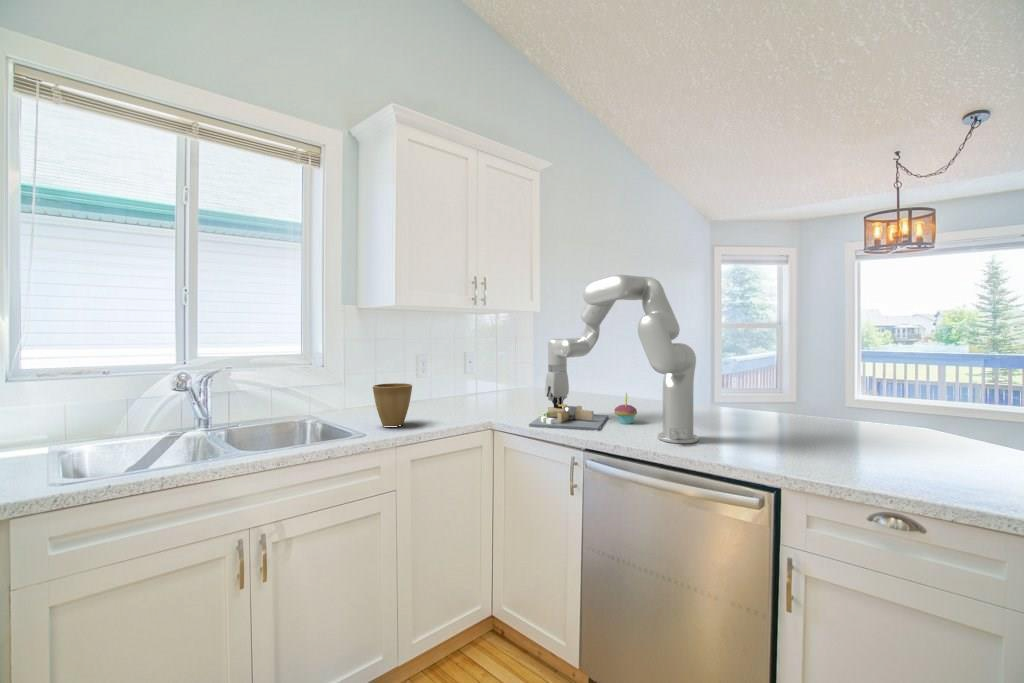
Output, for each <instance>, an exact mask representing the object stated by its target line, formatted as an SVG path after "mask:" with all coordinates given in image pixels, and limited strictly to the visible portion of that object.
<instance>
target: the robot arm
mask: <svg viewBox="0 0 1024 683" xmlns="http://www.w3.org/2000/svg"><path fill="white" fill-rule="evenodd" d="M582 297H583V300H584V302H585V303H586V305H585V306H584V307H583V309H582V311H581V312H580V319H581V320H582V321H583V323H585V324H586V325H585V329H584V330H583V331H582V334H581V335H580V336H579V337H571V338H550V339H549V340H548V341H547V358H548V359H547V364H548V365H547V366H548V367H547V371H548V372H547V373H546V376H545V389H544V390H545V392H544V395H545V397H547V400H548V401H550V402H552V405H553V407H554V408H563V407H562V406H558V404H564V401H565V400H566V399H568V395H569V393H570V392H569V390H570V386H569V376H568V370H567V368H568V366H567V365H568V362H567V360H568V359H569V358H580V357H584V356H586V355H587V354H589V353H591V351H592V349H593V348H594V346H595V345H596V344H597V342H598V340H599V338H600V331H601V328H600V327H601V324H602V322H603V321H604V319H606V316H607V315H608V314H609V313H610V311H611V309H612V308H613V306H614V305H615V303H616V301H620V300H621V301H639V300H641V302H642V303H641V304H642V309H643V312H644V314H645V315H643V316H642V317H641V318H640V319H639V321H638V324H637V334H638V338H639V340H640V343H641V346H642V348H643V350H644V353H645V356H646V358H647V361H648V362H649V364H650V366H651V368H652V369H653V371H654V372H656V373H658V374H660V375H663V379H662V380H663V381H662V432H659V433H658V435H657V439H659V440H660V441H663V442H666V443H673V444H694V443H697V442H699V435H696V434H695V433H694V385H695V384H694V381H695V380H694V379H695V370H696V365H697V356H696V353H695V351H694V349H693V348H692V347H691V346H689V345H688V344H686V343H682V342H675V343H673V342H672V341H673V340H675V339H676V338H678V336H679V334H680V330H681V329H680V325H679V322H678V320H677V318H676V315H675V313H674V310H673V308H672V306H671V304H670V302H669V300H668V298H667V295H666V292H665V290H664V287H663V285H662V283H661V282H660V281H659V280H658V279H656V278H654V277H651V276H639V275H629V274H616V275H612V276H608V277H605V278H602V279H597V280H595V281H591V282H590V283H588V284H587V285H586V286H585V288H584V290H583V293H582Z"/></svg>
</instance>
